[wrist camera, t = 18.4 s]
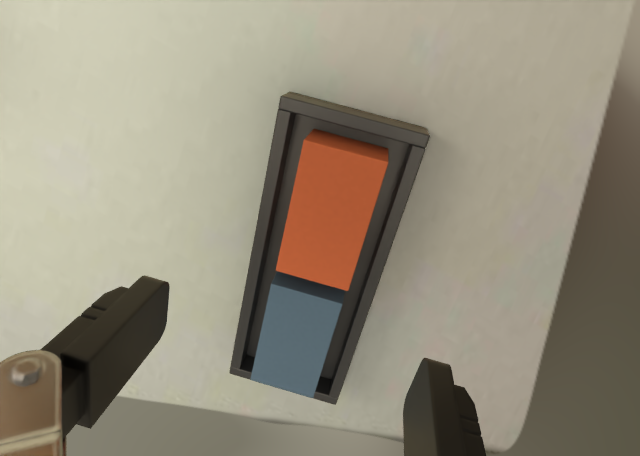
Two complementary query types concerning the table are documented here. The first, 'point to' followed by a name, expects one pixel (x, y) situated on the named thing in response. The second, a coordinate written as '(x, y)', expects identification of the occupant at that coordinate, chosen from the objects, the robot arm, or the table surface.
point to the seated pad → (296, 333)
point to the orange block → (331, 208)
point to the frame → (403, 165)
